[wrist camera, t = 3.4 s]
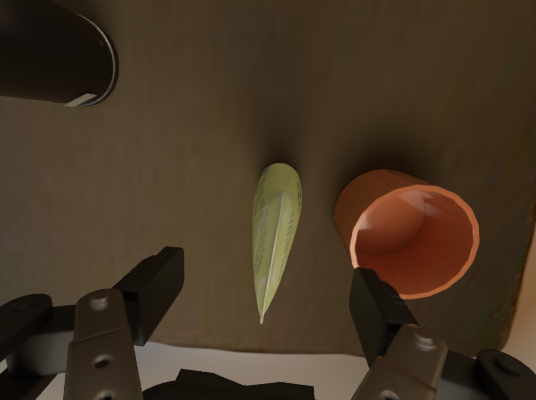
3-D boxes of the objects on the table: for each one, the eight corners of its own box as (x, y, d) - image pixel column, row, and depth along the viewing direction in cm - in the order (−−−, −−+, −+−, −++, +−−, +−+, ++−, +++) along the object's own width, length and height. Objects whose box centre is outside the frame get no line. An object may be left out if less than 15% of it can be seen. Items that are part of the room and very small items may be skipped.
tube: (310, 193, 32) (343, 285, 13) (275, 214, 33) (259, 327, 14) (286, 153, 31) (284, 193, 12) (250, 176, 32) (198, 244, 13)
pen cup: (327, 250, 34) (341, 292, 25) (340, 165, 31) (361, 179, 22) (415, 259, 33) (459, 305, 25) (436, 173, 30) (496, 191, 22)
